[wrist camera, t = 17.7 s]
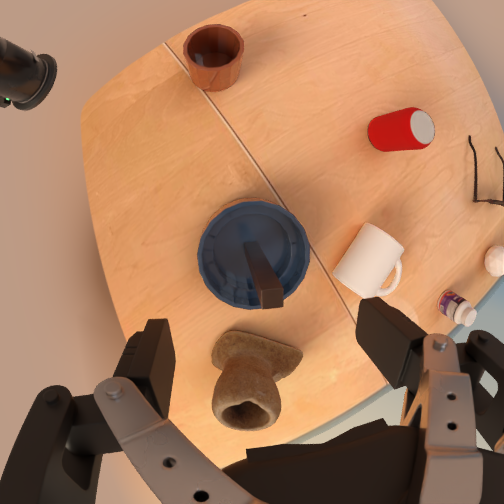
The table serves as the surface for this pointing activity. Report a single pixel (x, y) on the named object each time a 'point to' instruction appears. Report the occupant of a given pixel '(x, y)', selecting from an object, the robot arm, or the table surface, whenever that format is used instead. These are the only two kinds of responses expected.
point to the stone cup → (250, 379)
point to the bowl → (233, 251)
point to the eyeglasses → (502, 203)
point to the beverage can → (401, 130)
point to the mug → (370, 262)
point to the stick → (263, 277)
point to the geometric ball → (495, 260)
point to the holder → (213, 56)
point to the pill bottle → (456, 308)
